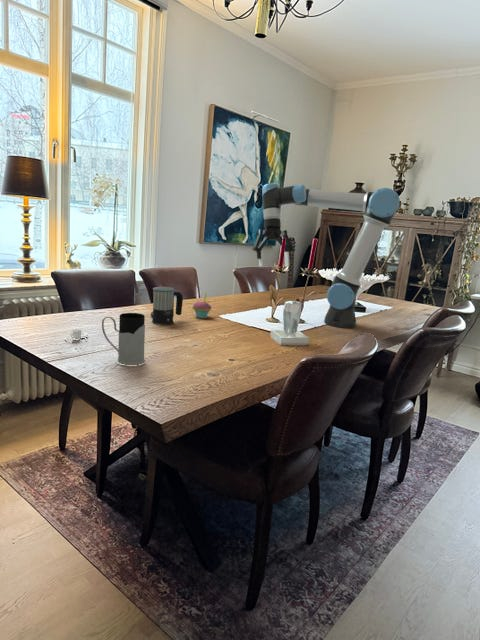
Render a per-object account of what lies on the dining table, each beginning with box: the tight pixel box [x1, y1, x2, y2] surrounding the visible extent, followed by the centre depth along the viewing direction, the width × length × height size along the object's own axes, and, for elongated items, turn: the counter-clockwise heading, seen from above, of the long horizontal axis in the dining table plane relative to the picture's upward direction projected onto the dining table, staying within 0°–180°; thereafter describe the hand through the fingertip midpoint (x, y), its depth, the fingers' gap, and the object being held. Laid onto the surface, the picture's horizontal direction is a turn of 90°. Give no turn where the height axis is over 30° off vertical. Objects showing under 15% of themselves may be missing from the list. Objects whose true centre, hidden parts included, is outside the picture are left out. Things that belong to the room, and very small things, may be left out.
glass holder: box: [101, 312, 146, 365], centre depth 135 cm, size 9×14×15 cm, turn 80°
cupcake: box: [192, 292, 212, 319], centre depth 201 cm, size 9×8×12 cm
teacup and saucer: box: [69, 328, 89, 340], centre depth 153 cm, size 9×8×4 cm
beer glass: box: [282, 300, 302, 337], centre depth 172 cm, size 7×7×15 cm
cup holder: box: [269, 329, 310, 346], centre depth 174 cm, size 12×12×3 cm
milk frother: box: [150, 286, 184, 325], centre depth 189 cm, size 14×16×15 cm
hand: (274, 266), depth 196 cm, fingers open, 13 cm apart
